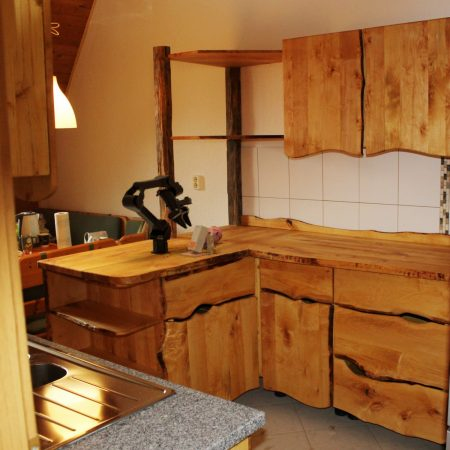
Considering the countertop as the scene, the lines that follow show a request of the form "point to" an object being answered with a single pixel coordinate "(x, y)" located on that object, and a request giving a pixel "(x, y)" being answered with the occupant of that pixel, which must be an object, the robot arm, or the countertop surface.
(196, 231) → the skincare box
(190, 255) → the tile
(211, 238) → the shallow wooden tray
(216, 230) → the pencil case
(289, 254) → the countertop surface
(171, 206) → the robot arm
